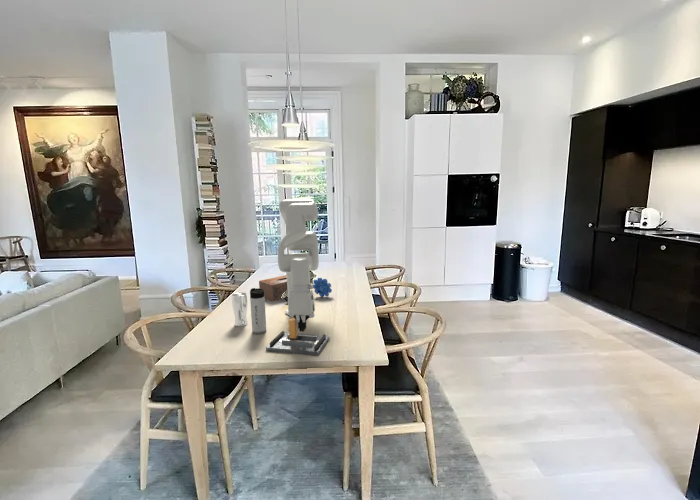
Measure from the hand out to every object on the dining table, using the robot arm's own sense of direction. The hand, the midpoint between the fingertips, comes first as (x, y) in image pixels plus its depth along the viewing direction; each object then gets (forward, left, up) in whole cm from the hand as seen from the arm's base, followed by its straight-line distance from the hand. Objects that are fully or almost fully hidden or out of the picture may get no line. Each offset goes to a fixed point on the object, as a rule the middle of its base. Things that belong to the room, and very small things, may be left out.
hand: (302, 330), depth 151 cm
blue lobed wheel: (-66, -12, -7) cm, 67 cm away
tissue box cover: (-68, -37, -7) cm, 78 cm away
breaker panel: (0, -2, -6) cm, 7 cm away
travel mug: (-10, -25, -7) cm, 28 cm away
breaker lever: (0, -4, -5) cm, 6 cm away
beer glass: (-17, -38, -7) cm, 42 cm away
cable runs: (0, -2, -5) cm, 5 cm away
